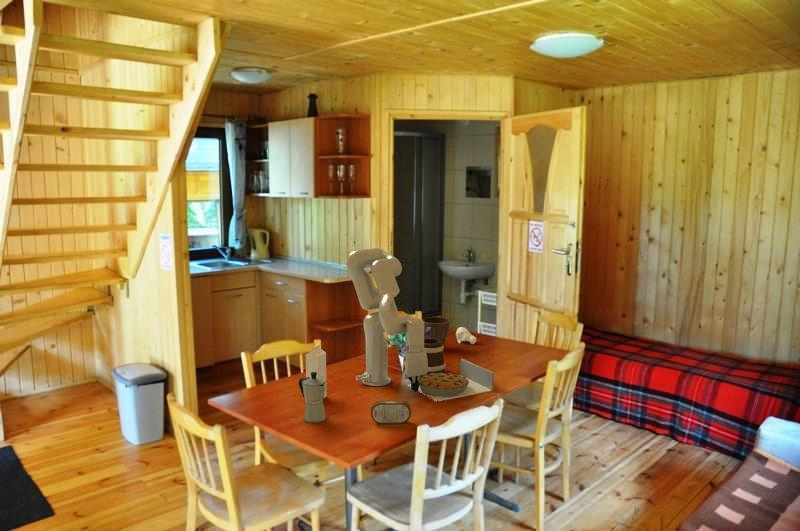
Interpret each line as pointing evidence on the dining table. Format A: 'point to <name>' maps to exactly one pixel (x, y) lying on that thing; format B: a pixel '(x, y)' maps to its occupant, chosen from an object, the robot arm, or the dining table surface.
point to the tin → (390, 411)
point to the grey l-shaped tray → (471, 381)
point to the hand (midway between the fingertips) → (414, 390)
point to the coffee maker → (313, 398)
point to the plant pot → (437, 328)
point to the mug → (434, 356)
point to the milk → (316, 364)
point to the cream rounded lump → (464, 335)
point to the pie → (443, 384)
